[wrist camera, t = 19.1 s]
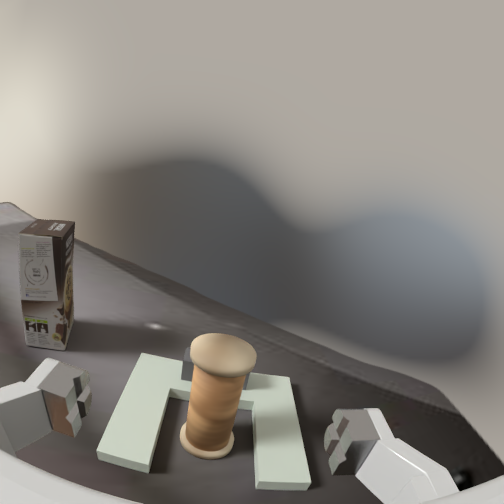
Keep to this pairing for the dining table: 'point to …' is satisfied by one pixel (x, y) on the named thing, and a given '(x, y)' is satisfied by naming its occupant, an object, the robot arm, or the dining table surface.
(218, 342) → the bobbin
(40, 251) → the coffee box
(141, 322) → the dining table surface
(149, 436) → the notched board
